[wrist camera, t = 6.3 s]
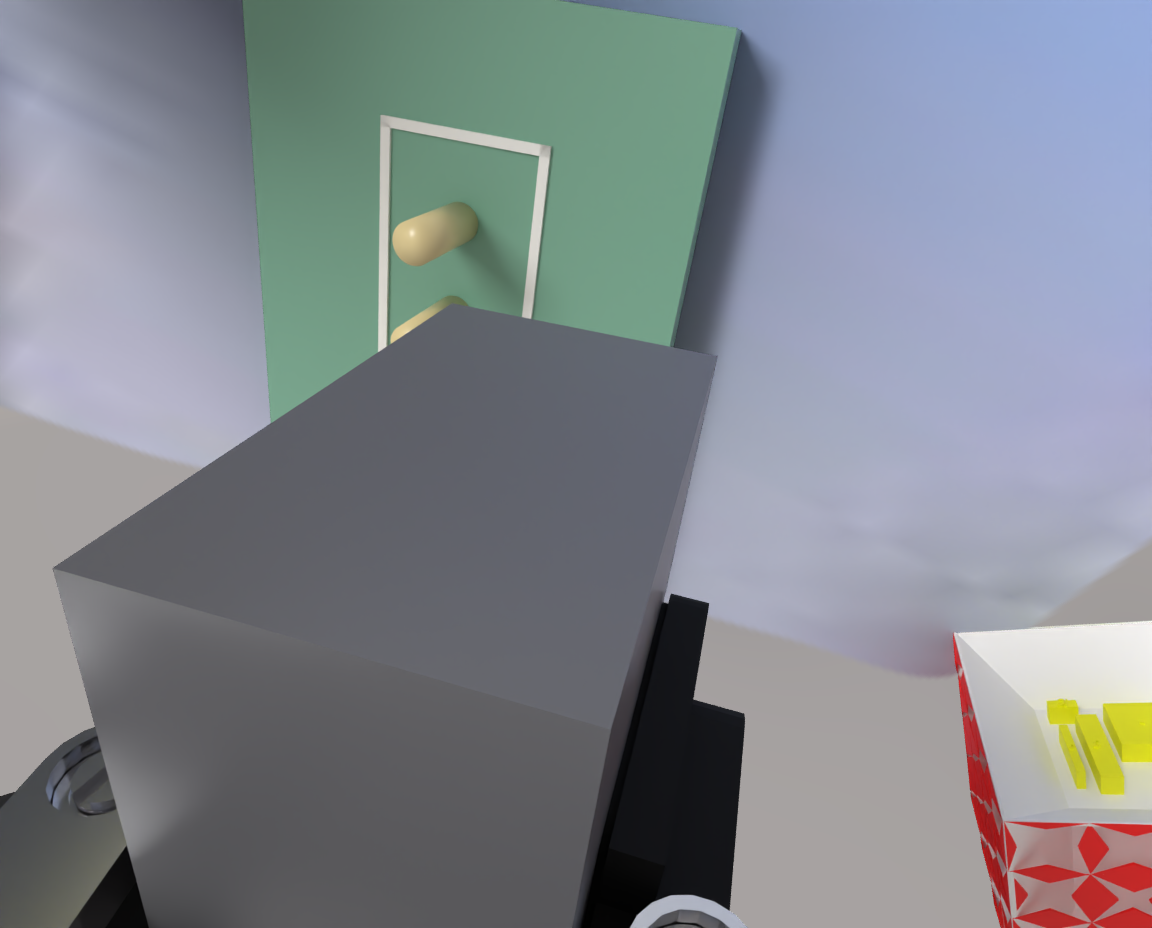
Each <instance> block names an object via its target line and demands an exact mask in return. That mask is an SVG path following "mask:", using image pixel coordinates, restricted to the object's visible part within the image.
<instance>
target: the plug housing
mask: <svg viewBox="0 0 1152 928" xmlns="http://www.w3.org/2000/svg"><path fill="white" fill-rule="evenodd" d="M716 361H717V356H714V355H709V354H704V353H699V352H694V351H689V350H684V349H679V348H674V347H669V346H664V345H659V344H654V343H649V342H644V341H639V340H634V339H629V338H624V337H619V336H614V335H609V334H604V333H599V332H594V331H589V330H584V329H579V328H574V327H569V326H564V325H559V324H554V323H549V322H544V321H539V320H534V319H529V318H524V317H519V316H514V315H509V314H504V313H499V312H494V311H489V310H484V309H479V308H474V307H469V306H464V305H459V304H454V303H452V304H450V305H449V306H447V307H446V308H444V309H443V310H441V311H439V312H438V313H436V314H435V315H433V316H432V317H430V318H429V319H427V320H426V321H424V322H423V323H421V324H420V325H418V326H417V327H415V328H414V329H412V330H411V331H409V332H408V333H406V334H405V335H403V336H402V337H400V338H399V339H397V340H396V341H394V342H393V343H391V344H390V345H388V346H387V347H385V348H384V349H382V350H381V351H379V352H378V353H376V354H375V355H373V356H372V357H370V358H369V359H367V360H366V361H364V362H363V363H361V364H360V365H358V366H357V367H355V368H354V369H352V370H351V371H349V372H348V373H346V374H345V375H343V376H341V377H340V378H338V379H337V380H335V381H334V382H332V383H331V384H329V385H328V386H326V387H325V388H323V389H322V390H320V391H319V392H317V393H316V394H314V395H313V396H311V397H310V398H308V399H307V400H305V401H304V402H302V403H301V404H299V405H298V406H296V407H295V408H293V409H292V410H290V411H289V412H287V413H286V414H284V415H283V416H281V417H280V418H278V419H277V420H275V421H274V422H272V423H271V424H269V425H268V426H266V427H265V428H263V429H262V430H260V431H259V432H257V433H256V434H254V435H253V436H251V437H250V438H248V439H247V440H245V441H244V442H242V443H240V444H239V445H237V446H236V447H234V448H233V449H231V450H230V451H228V452H227V453H225V454H224V455H222V456H221V457H219V458H218V459H216V460H215V461H213V462H212V463H210V464H209V465H207V466H206V467H204V468H203V469H201V470H200V471H198V472H197V473H195V474H194V475H192V476H191V477H189V478H188V479H186V480H185V481H183V482H182V483H180V484H179V485H177V486H176V487H174V488H173V489H171V490H170V491H168V492H167V493H165V494H164V495H162V496H161V497H159V498H158V499H156V500H155V501H153V502H152V503H150V504H149V505H147V506H146V507H144V508H143V509H141V510H139V511H138V512H137V513H135V514H133V515H132V516H130V517H129V518H127V519H126V520H124V521H123V522H121V523H120V524H118V525H117V526H116V527H114V528H112V529H111V530H109V531H108V532H106V533H105V534H104V535H102V536H100V537H99V538H97V539H96V540H94V541H93V542H91V543H90V544H88V545H87V546H85V547H84V548H82V549H81V550H79V551H78V552H76V553H75V554H73V555H72V556H70V557H69V558H67V559H66V560H64V561H63V562H61V563H60V564H58V565H57V566H55V567H54V568H53V572H54V575H55V579H56V583H57V587H58V590H59V594H60V598H61V601H62V605H63V609H64V612H65V616H66V620H67V624H68V628H69V631H70V635H71V639H72V643H73V646H74V649H75V654H76V657H77V661H78V665H79V669H80V672H81V676H82V680H83V683H84V687H85V691H86V694H87V698H88V702H89V706H90V710H91V713H92V717H93V721H94V725H95V728H96V732H97V736H98V739H99V743H100V747H101V751H102V754H103V758H104V762H105V766H106V769H107V773H108V777H109V780H110V784H111V788H112V792H113V795H114V799H115V803H116V807H117V810H118V814H119V818H120V821H121V825H122V829H123V833H124V836H125V840H126V844H127V848H128V851H129V855H130V859H131V862H132V866H133V870H134V874H135V877H136V881H137V885H138V889H139V892H140V896H141V900H142V903H143V907H144V911H145V915H146V918H147V922H148V926H149V928H582V927H583V922H584V917H585V912H586V908H587V903H588V898H589V893H590V888H591V884H592V879H593V874H594V869H595V865H596V860H597V855H598V851H599V847H600V842H601V838H602V834H603V830H604V826H605V822H606V818H607V814H608V810H609V806H610V802H611V798H612V794H613V790H614V787H615V783H616V779H617V775H618V771H619V767H620V763H621V759H622V755H623V752H624V748H625V744H626V740H627V736H628V732H629V728H630V724H631V721H632V717H633V713H634V709H635V705H636V701H637V697H638V693H639V689H640V686H641V682H642V678H643V674H644V670H645V666H646V662H647V658H648V655H649V651H650V647H651V643H652V639H653V635H654V631H655V627H656V623H657V620H658V616H659V612H660V608H661V604H662V602H664V597H665V593H666V588H667V584H668V579H669V574H670V570H671V565H672V561H673V556H674V552H675V547H676V543H677V538H678V534H679V529H680V524H681V520H682V515H683V511H684V506H685V502H686V497H687V493H688V488H689V484H690V479H691V475H692V470H693V465H694V461H695V456H696V452H697V447H698V443H699V438H700V434H701V429H702V425H703V420H704V415H705V411H706V406H707V402H708V397H709V393H710V388H711V384H712V379H713V375H714V370H715V365H716Z"/></svg>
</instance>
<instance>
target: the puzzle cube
mask: <svg viewBox="0 0 1152 928" xmlns="http://www.w3.org/2000/svg"><path fill="white" fill-rule="evenodd" d="M954 637H955V638H954ZM953 641H954V655H955V665H956V670H957V674H958V680H959V689H960V698H961V708H962V716H963V725H964V734H965V743H966V752H967V763H968V773H969V783H970V790H971V799H972V804H973V808H974V812H975V816H976V820H977V824H978V828H979V830H980V834H981V838H982V839H981V844H982V850H983V854H984V858H985V861H986V865H987V869H988V873H989V876H990V878H991V882H992V886H993V888H992V892H993V891H994V892H993V899H994V905H995V909H996V912H997V916H998V919H999V923H1000V927H1001V926H1002V927H1001V928H1152V621H1136V622H1119V623H1101V624H1084V625H1083V624H1082V625H1064V626H1046V627H1031V628H1030V629H1022V630H1004V631H986V632H967V633H954V634H953ZM958 671H959V673H958Z"/></svg>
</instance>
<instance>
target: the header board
mask: <svg viewBox="0 0 1152 928" xmlns="http://www.w3.org/2000/svg"><path fill="white" fill-rule="evenodd" d="M242 4H243V19H244V34H245V48H246V63H247V78H248V93H249V107H250V122H251V137H252V152H253V167H254V181H255V196H256V211H257V226H258V240H259V255H260V270H261V285H262V300H263V314H264V329H265V344H266V359H267V373H268V388H269V403H270V418H271V423H272V422H274V421H275V420H277V419H278V418H280V417H281V416H283V415H284V414H286V413H287V412H289V411H290V410H292V409H293V408H295V407H296V406H298V405H299V404H301V403H302V402H304V401H305V400H307V399H308V398H310V397H311V396H313V395H314V394H316V393H317V392H319V391H320V390H322V389H323V388H325V387H326V386H328V385H329V384H331V383H332V382H334V381H335V380H337V379H338V378H340V377H341V376H343V375H345V374H346V373H348V372H349V371H351V370H352V369H354V368H355V367H357V366H358V365H360V364H361V363H363V362H364V361H366V360H367V359H369V358H370V357H372V356H373V355H375V354H376V353H378V352H379V351H381V350H382V349H384V348H385V347H387V346H388V345H390V344H391V343H393V342H394V341H396V340H397V339H399V338H400V337H402V336H403V335H405V334H406V333H408V332H409V331H411V330H412V329H414V328H415V327H417V326H418V325H420V324H421V323H423V322H424V321H426V320H427V319H429V318H430V317H432V316H433V315H435V314H436V313H438V312H439V311H441V310H443V309H444V308H446V307H447V306H449V305H450V304H452V303H454V304H459V305H464V306H469V307H474V308H479V309H484V310H489V311H494V312H499V313H504V314H509V315H514V316H519V317H524V318H529V319H534V320H539V321H544V322H549V323H554V324H559V325H564V326H569V327H574V328H579V329H584V330H589V331H594V332H599V333H604V334H609V335H614V336H619V337H624V338H629V339H634V340H639V341H644V342H649V343H654V344H659V345H664V346H669V347H674V343H675V338H676V333H677V329H678V324H679V319H680V315H681V310H682V306H683V301H684V296H685V292H686V287H687V282H688V278H689V273H690V268H691V264H692V259H693V254H694V250H695V245H696V241H697V236H698V231H699V227H700V222H701V217H702V213H703V208H704V203H705V199H706V194H707V189H708V185H709V180H710V175H711V171H712V166H713V162H714V157H715V152H716V148H717V143H718V138H719V134H720V129H721V124H722V120H723V115H724V110H725V106H726V101H727V97H728V92H729V87H730V83H731V78H732V73H733V69H734V64H735V59H736V55H737V50H738V45H739V41H740V36H741V31H742V30H740V29H738V28H734V27H727V26H721V25H714V24H708V23H701V22H695V21H689V20H682V19H676V18H669V17H663V16H656V15H650V14H643V13H637V12H630V11H624V10H618V9H611V8H605V7H598V6H592V5H585V4H579V3H572V2H566V1H559V0H242Z"/></svg>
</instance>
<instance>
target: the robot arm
mask: <svg viewBox="0 0 1152 928" xmlns="http://www.w3.org/2000/svg"><path fill="white" fill-rule="evenodd" d="M708 608H709V603H706V602H702V601H698V600H694V599H690V598H686V597H682V596H678V595H674V594H671V595H670V599H669V603H668V604H667V603H664V602H662V604H661V608H660V612H659V616H658V620H657V623H656V627H655V631H654V635H653V639H652V643H651V647H650V651H649V655H648V658H647V662H646V666H645V670H644V674H643V678H642V682H641V686H640V689H639V693H638V697H637V701H636V705H635V709H634V713H633V717H632V721H631V724H630V728H629V732H628V736H627V740H626V744H625V748H624V752H623V755H622V759H621V763H620V767H619V771H618V775H617V779H616V783H615V787H614V790H613V794H612V798H611V802H610V806H609V810H608V814H607V818H606V822H605V826H604V830H603V834H602V838H601V842H600V847H599V851H598V855H597V860H596V865H595V869H594V874H593V879H592V884H591V888H590V893H589V898H588V903H587V908H586V912H585V917H584V922H583V927H582V928H747V926H746V925H744V923H743V922H742V921H741V920H739V918H738V917H737V916H736V915H735V914H734V913H732V912H730V898H731V886H732V874H733V862H734V849H735V838H736V826H737V814H738V801H739V789H740V777H741V764H742V753H743V741H744V728H745V717H744V714H743V713H740V712H736V711H733V710H729V709H725V708H722V707H718V706H715V705H711V704H707V703H703V702H700V701H697V700H693V697H694V691H695V685H696V679H697V673H698V667H699V661H700V656H701V649H702V644H703V637H704V632H705V626H706V620H707V614H708ZM0 928H149V926H148V922H147V918H146V915H145V911H144V907H143V903H142V900H141V896H140V892H139V889H138V885H137V881H136V877H135V874H134V870H133V866H132V862H131V859H130V855H129V851H128V848H127V844H126V840H125V836H124V833H123V829H122V825H121V821H120V818H119V814H118V810H117V807H116V803H115V799H114V795H113V792H112V788H111V784H110V780H109V777H108V773H107V769H106V766H105V762H104V758H103V754H102V751H101V747H100V743H99V739H98V736H97V732H96V728H95V727H94V728H91V729H88V730H85V731H83V732H81V733H80V734H78V735H76V736H75V737H73V738H71V739H69V740H68V741H66V742H64V743H63V744H62V745H60V746H59V747H58V748H57V749H56V750H55V751H54V752H53V753H51V754H50V755H49V756H48V757H47V758H46V759H45V760H44V761H43V762H42V763H41V765H39V767H38V768H37V769H36V770H35V771H34V772H33V773H32V774H31V775H30V776H29V778H28V779H27V780H26V781H25V782H24V783H23V784H22V785H21V786H20V787H19V788H18V790H17V791H16V792H13V793H10V794H6V795H3V796H0Z"/></svg>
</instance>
